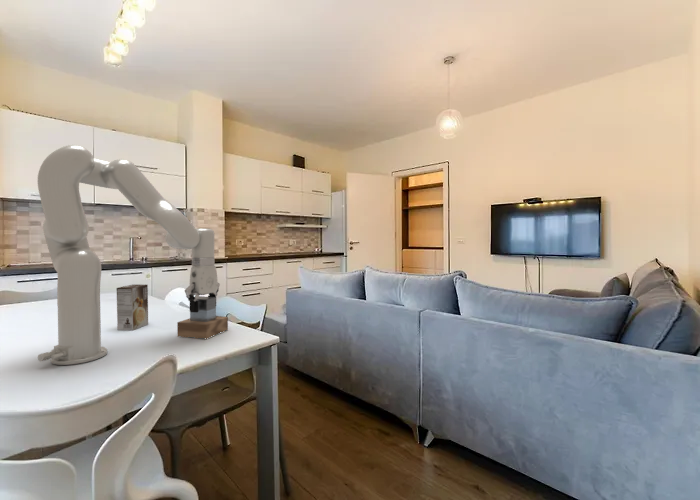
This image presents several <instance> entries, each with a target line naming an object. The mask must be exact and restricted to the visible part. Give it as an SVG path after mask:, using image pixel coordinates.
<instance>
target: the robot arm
mask: <svg viewBox="0 0 700 500" xmlns="http://www.w3.org/2000/svg"><path fill="white" fill-rule="evenodd" d="M37 173H38V174H37V189H38V193H39V198H40V202H41V207H42V211H43V214H44V215H43V216H44V222H43V224H42V229H43V235H44V239H45V242H46V246H47V249H48V253H49V255H50V260H51V262H52V265H53V268H54V270H55V271H56V273H57V287H56V289H57V292H56V295H57V296H56V297H57V299H56V301H57V336H58V337H57V339H58V341H57V342H58V343H57V345H54V346H53V349H52V350H50V351H48V352H44V353H40V354H38V355H37V361H38V362H40V363H41V362H44V361H48V360H51V361H50V362H51V364H53V365H56V366H57V365H58V366H69V365H78V364H83V363H88V362H92V361H96V360H98V359H101V358H103V357H104V356H106V355H107V354H108V349H107V347H105V346H102V339H101V338H102V336H101V335H102V330H101V329H102V328H101V321H102V320H101V277H102V262H101V259H100V258H99V256H98V255H97V254H96V253H95V252H94V251H92V250H91V249H90V245H89V241H88V237H87V236H88V234H89V231H90V225H89V223H88V220H87V219H88V218H87V217H86V213H85V210H84V207H83V202H82V198H81V193H80V184H85V185H91V186H95V187H100V188H105V189H112V190H118V191H119V192H120V193H121V194H122V195H123V197H125V198H126V200H127V201H128V202H129V203H130V204H131V205H132V206H133V207H134V208H135V210H137V212H138V213H140V214H142V216H144V217H146V218H148V219H150V220H152V221H154V222H155V223H157V224H158V225H159V226H161V227H162V228H163V229H164V230H165V231H166V235H165V242H166V244H167V245H168V246H169V247H170V248H173V249H177V250H178V249H179V250H191V269H190V274H189V285H188V287H186V288H185V289H184V293H185V297H186V298H187V301H188V302H189V313H190V312H196V313H197V312H198V301H197V299H198V297H199V296H206V295H208V296H207V297H216V298H217V297H218V292H219V289H220V285H221V284H220V283H219V281H218V274H217V273H218V272H217V266H216V265H215V231H214V230H213V229H212V228H200V227H199V228H196V227H195V226H194V224H192V223H191V221H190V220H189V218H187V217H186V216H185V214H183V212H181V211H180V210H179V209H178V208H177V207H175V206H174V205H173V204H172V203H171V202H170V201H169V200H167V199H166V198H164V197H163V195H162V194H161V193H160V192H159V191H158V190H157V188H156V186H154V185H153V184H152V183H151V181H150V180H149V179H148V178H147V177H146V176H145V174H144V173H143V172H142V171H141V169H139V168H138V167H137V165H135V164H134V163H133V162H132V161H130V160H128V159H124V158H119V159H115V160H112V161H107V160H101V159H97V158H94V155H93V154H92V153H91V152H90V151H89V149H87V148H85V147H84V146H80V145H77V144H70V145H69V144H68V145H65V146H62V147H60V148H58V149H57V148H56V150H54V151H53V152H51V153H50V154H48V155H47V156H46V158H45V159H44V160H43V162H42V163H41V165H40V166H39V170H38V172H37Z"/></svg>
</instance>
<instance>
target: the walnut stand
mask: <svg viewBox="0 0 700 500" xmlns="http://www.w3.org/2000/svg"><path fill="white" fill-rule="evenodd" d="M176 324H177V325H176V326H177V330H176V331H177V334H176V335H177V337H179V336H181V337H182V338H188V337H195V338H194V339H198V338H206V339H205V340H208V339H207V338H209V337H211V336H213V335H216V334H218V333H220V332H223V331H225V330H227V331H229V316H221V315H216V319H214V320H211V321H208V322H201V321H190V317H189V318H187V319H184V320H181V321H178V322H177V323H176ZM225 332H226V331H225ZM223 333H224V332H223ZM220 334H221V333H220ZM218 335H219V334H218ZM216 336H217V335H216ZM181 337H180V338H181ZM213 337H214V336H213ZM211 338H212V337H211ZM209 339H210V338H209Z"/></svg>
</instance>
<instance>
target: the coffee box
mask: <svg viewBox="0 0 700 500" xmlns="http://www.w3.org/2000/svg"><path fill="white" fill-rule="evenodd" d="M148 287H149V286H148V284H129V285H124V286H120V287H116V318H117V321H116V322H117V323H116V324H117V325H116V327H117V331H135V330H137V329H140V328H142V327H144V326H147V325H149V297H148V296H149V294H148V293H149V292H148V291H149V288H148Z"/></svg>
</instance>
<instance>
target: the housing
mask: <svg viewBox="0 0 700 500" xmlns="http://www.w3.org/2000/svg"><path fill="white" fill-rule="evenodd" d="M197 301H198V312H197V313H196V312H190V311H189V318H190V321H201V322H208V321H211V320H214V319H216V316H217V296H216V297H208V296H205V295H199V297H198V299H197Z"/></svg>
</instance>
